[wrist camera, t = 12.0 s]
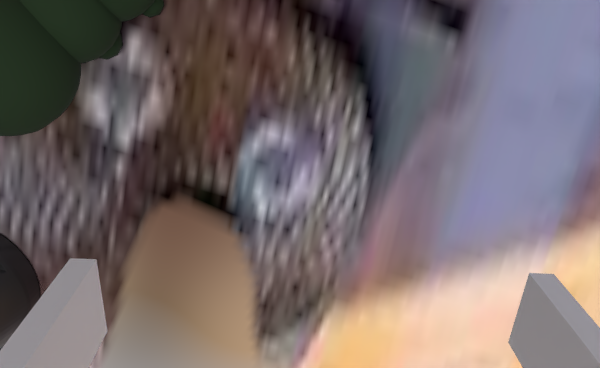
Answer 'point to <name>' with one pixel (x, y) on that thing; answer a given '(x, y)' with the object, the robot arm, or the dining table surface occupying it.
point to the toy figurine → (54, 53)
